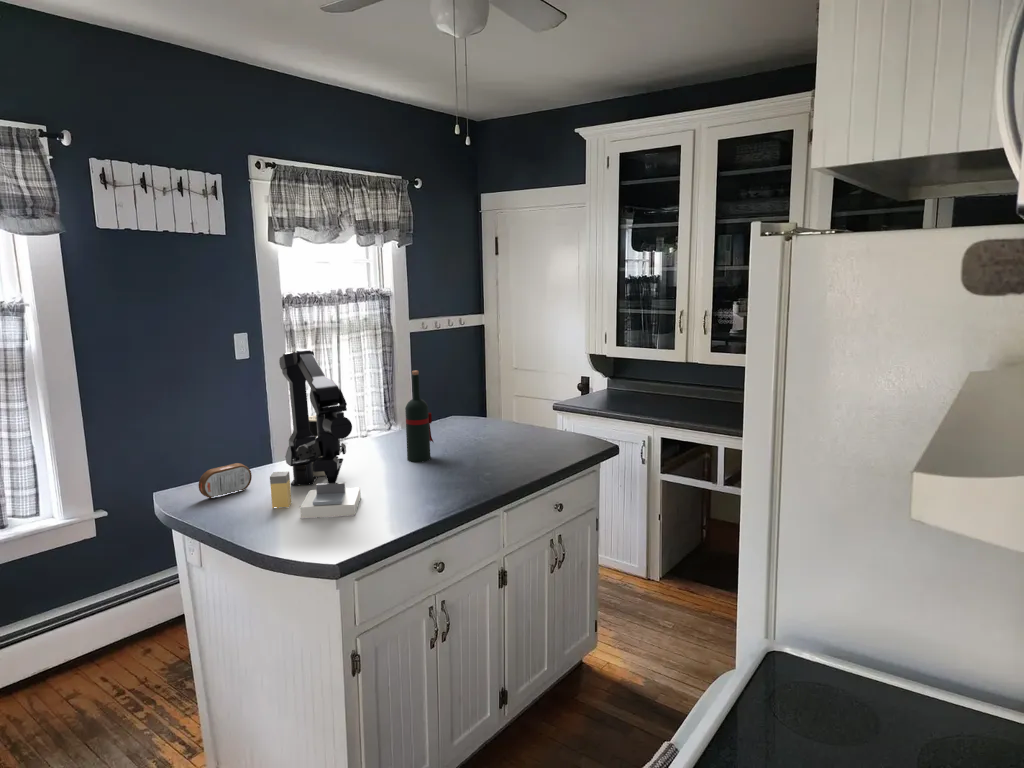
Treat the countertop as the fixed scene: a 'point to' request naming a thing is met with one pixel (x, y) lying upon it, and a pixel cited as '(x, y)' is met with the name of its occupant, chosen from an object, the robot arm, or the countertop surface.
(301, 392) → the robot arm
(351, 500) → the socket block
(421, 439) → the wine bottle
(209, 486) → the tin
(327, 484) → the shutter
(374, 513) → the countertop surface
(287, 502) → the plug
